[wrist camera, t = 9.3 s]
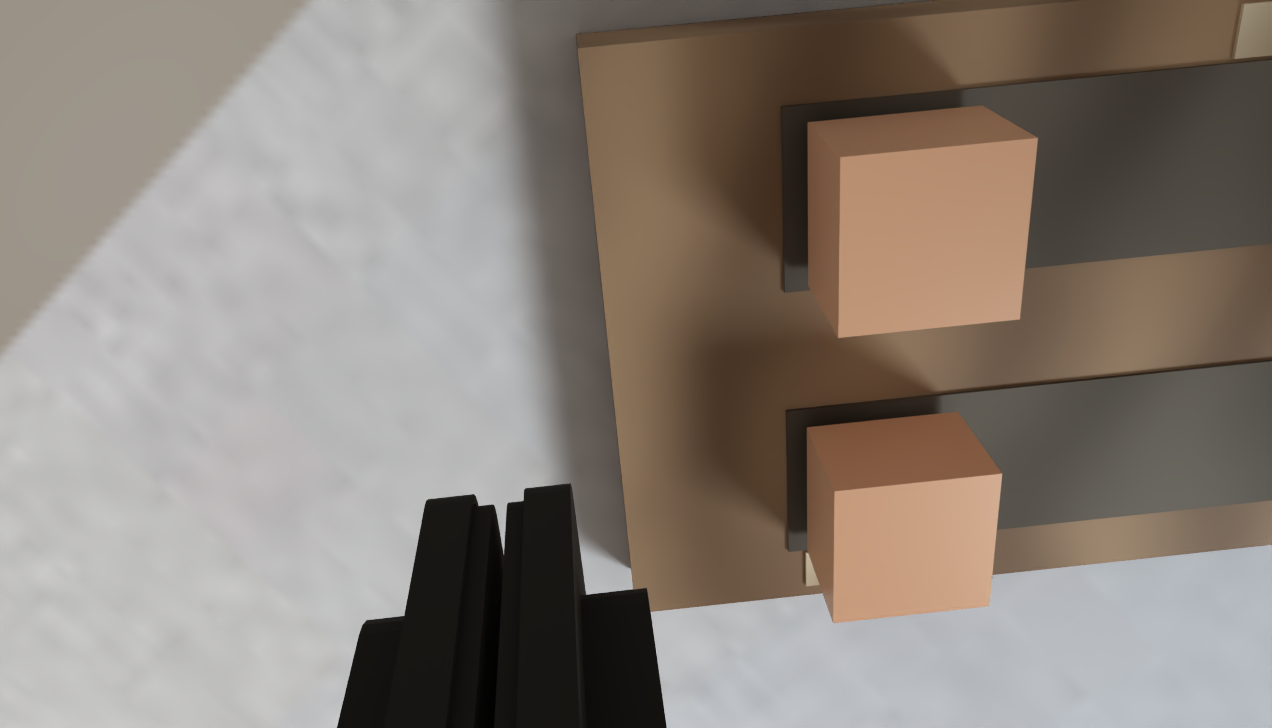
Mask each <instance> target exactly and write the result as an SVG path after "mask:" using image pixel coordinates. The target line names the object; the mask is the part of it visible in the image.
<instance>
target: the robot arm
mask: <svg viewBox="0 0 1272 728" xmlns="http://www.w3.org/2000/svg"><path fill="white" fill-rule="evenodd" d="M337 728H666V720H665V713H664V706H663V699H662V692H661V684H660V677H659V670H658V663H657V656H656V648H655V641H654V634H653V627H652V620H651V612H650V605H649V598H648V592H647V588H642V589H633V590H624V591H616V592H607V593H599V594H590V595H586V591H585V584H584V576H583V568H582V561H581V553H580V546H579V538H578V530H577V523H576V515H575V507H574V500H573V493H572V487H571V483H570V484H561V485H553V486H544V487H535V488H526V489H525V490H524V501H521V502H512V503H508V504H507V515H506V532H505V549H504V554H503V548H502V543H501V537H500V531H499V526H498V520H497V514H496V510H495V507H494V505H485V506H478V502H477V499H476V496H475V495H474V494H472V495H463V496H454V497H446V498H437V499H428V500H427V501H426V504H425V508H424V513H423V518H422V524H421V529H420V535H419V540H418V545H417V551H416V556H415V562H414V567H413V572H412V578H411V583H410V589H409V594H408V599H407V605H406V610H405V616H400V617H392V618H383V619H375V620H367V621H366V622H365V623H364V624H363V625H362V628H361V631H360V634H359V638H358V642H357V646H356V650H355V655H354V659H353V663H352V667H351V671H350V676H349V680H348V684H347V688H346V692H345V697H344V701H343V705H342V709H341V713H340V718H339V722H338V726H337Z"/></svg>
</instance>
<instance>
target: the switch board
mask: <svg viewBox="0 0 1272 728" xmlns="http://www.w3.org/2000/svg"><path fill="white" fill-rule="evenodd" d="M576 39H577V50H578V59H579V69H580V79H581V88H582V98H583V108H584V117H585V127H586V137H587V146H588V156H589V166H590V175H591V185H592V195H593V204H594V214H595V224H596V233H597V243H598V253H599V262H600V272H601V282H602V291H603V301H604V311H605V320H606V330H607V340H608V349H609V359H610V369H611V378H612V388H613V398H614V407H615V417H616V427H617V436H618V446H619V456H620V465H621V475H622V485H623V494H624V504H625V514H626V523H627V533H628V543H629V552H630V562H631V572H632V581H633V589H642V588H647V592H648V598H649V605H650V612H653V611H662V610H671V609H680V608H690V607H699V606H708V605H717V604H727V603H736V602H745V601H754V600H764V599H773V598H782V597H791V596H801V595H810V594H819V593H822V590H821V587H820V585H819V582H818V579H817V576H816V573H815V571H814V568H813V565H812V562H811V559H810V557H809V554H808V551H807V427H815V426H824V425H834V424H844V423H853V422H863V421H872V420H882V419H892V418H901V417H911V416H920V415H930V414H940V413H949V412H958V413H959V414H960V416H961V417H962V418H963V420H964V421H965V422H966V424H967V425H968V427H969V428H970V429H971V431H972V432H973V434H974V435H975V436H976V438H977V439H978V441H979V442H980V443H981V445H982V446H983V448H984V449H985V450H986V452H987V453H988V455H989V456H990V457H991V459H992V460H993V461H994V463H995V464H996V466H997V467H998V468H999V470H1000V471H1001V473H1002V482H1001V492H1000V502H999V512H998V522H997V532H996V542H995V552H994V563H993V573H992V575H995V574H1004V573H1014V572H1023V571H1032V570H1041V569H1051V568H1060V567H1069V566H1078V565H1088V564H1097V563H1106V562H1115V561H1125V560H1134V559H1143V558H1153V557H1162V556H1171V555H1180V554H1190V553H1199V552H1208V551H1217V550H1227V549H1236V548H1245V547H1254V546H1264V545H1272V0H933V1H922V2H912V3H901V4H891V5H880V6H869V7H859V8H848V9H838V10H827V11H816V12H806V13H795V14H785V15H774V16H764V17H753V18H742V19H732V20H721V21H711V22H700V23H689V24H679V25H668V26H658V27H647V28H637V29H626V30H615V31H605V32H594V33H584V34H576ZM980 105H983V106H984V107H986V108H988V109H989V110H991V111H993V112H995V113H996V114H998V115H1000V116H1001V117H1003V118H1005V119H1006V120H1008V121H1010V122H1012V123H1013V124H1015V125H1017V126H1018V127H1020V128H1022V129H1024V130H1025V131H1027V132H1029V133H1030V134H1032V135H1034V136H1036V137H1037V138H1038V143H1037V153H1036V163H1035V173H1034V183H1033V193H1032V203H1031V213H1030V223H1029V233H1028V243H1027V253H1026V263H1025V273H1024V283H1023V293H1022V303H1021V313H1020V319H1019V320H1009V321H1000V322H990V323H980V324H970V325H960V326H951V327H941V328H931V329H921V330H911V331H902V332H892V333H882V334H872V335H862V336H853V337H843V338H838V337H837V335H836V333H835V331H834V330H833V328H832V326H831V324H830V323H829V321H828V319H827V318H826V316H825V314H824V312H823V311H822V309H821V307H820V305H819V304H818V302H817V300H816V299H815V297H814V295H813V293H812V292H811V290H810V288H809V286H808V122H815V121H826V120H836V119H846V118H857V117H867V116H877V115H888V114H898V113H908V112H918V111H929V110H939V109H949V108H960V107H970V106H980Z"/></svg>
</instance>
